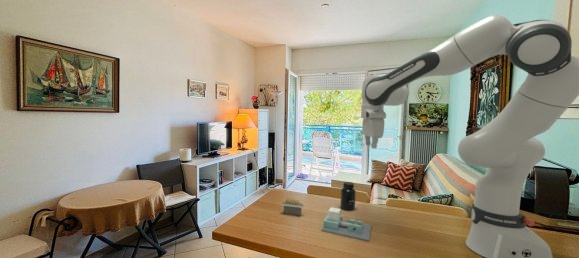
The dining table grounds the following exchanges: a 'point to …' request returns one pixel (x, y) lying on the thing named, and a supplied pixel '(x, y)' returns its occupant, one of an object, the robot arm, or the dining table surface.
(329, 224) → the board
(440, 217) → the dining table surface
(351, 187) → the supplement bottle
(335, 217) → the cable plug
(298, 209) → the potted plant
